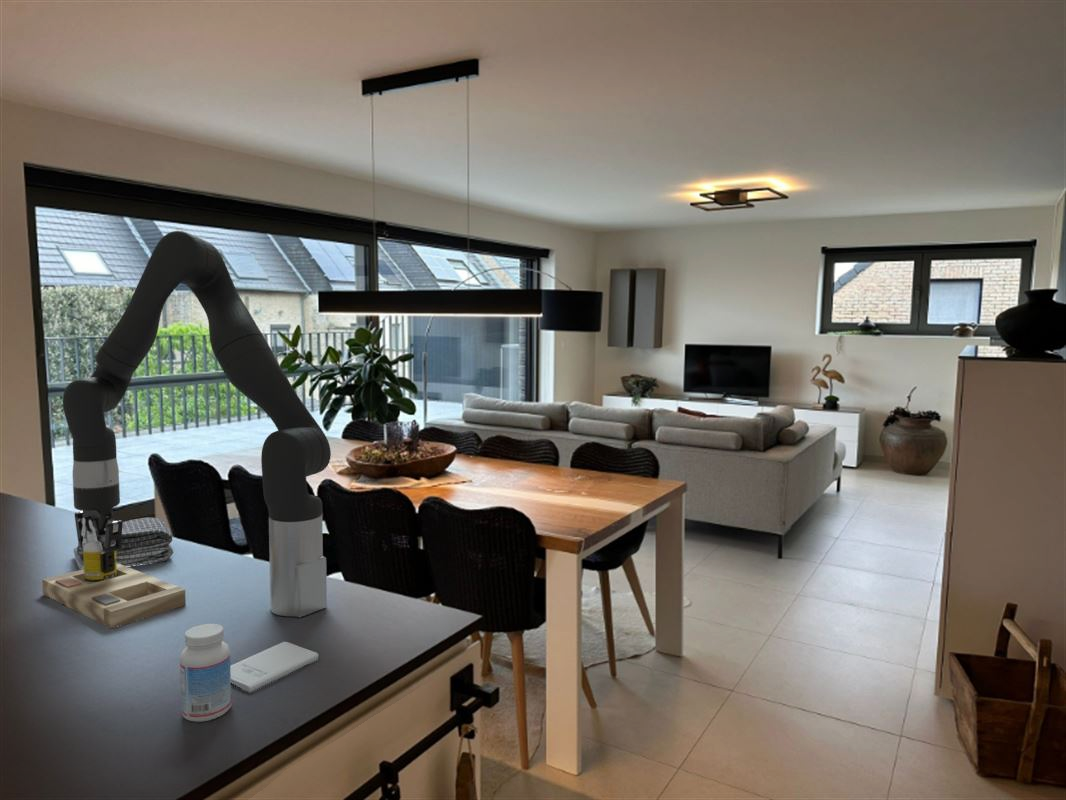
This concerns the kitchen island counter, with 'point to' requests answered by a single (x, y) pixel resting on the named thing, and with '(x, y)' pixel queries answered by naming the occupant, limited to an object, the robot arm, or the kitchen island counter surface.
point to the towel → (139, 543)
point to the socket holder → (115, 595)
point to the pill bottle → (205, 674)
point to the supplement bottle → (95, 562)
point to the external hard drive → (269, 665)
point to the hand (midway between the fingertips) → (100, 568)
